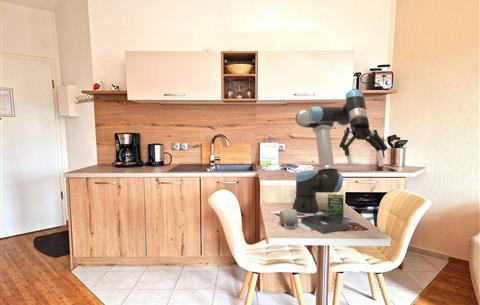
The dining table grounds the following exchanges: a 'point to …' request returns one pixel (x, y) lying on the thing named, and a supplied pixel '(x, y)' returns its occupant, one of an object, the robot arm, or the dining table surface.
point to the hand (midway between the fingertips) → (366, 164)
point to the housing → (325, 228)
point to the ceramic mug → (289, 218)
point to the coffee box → (335, 206)
